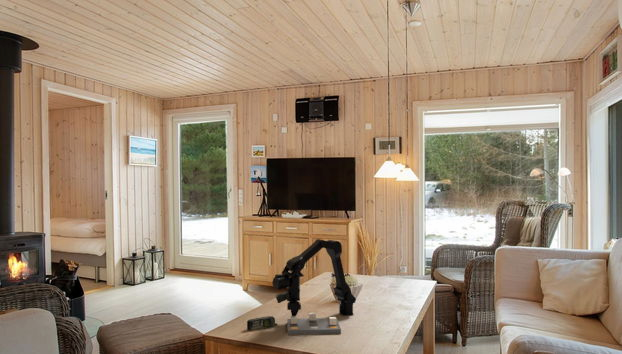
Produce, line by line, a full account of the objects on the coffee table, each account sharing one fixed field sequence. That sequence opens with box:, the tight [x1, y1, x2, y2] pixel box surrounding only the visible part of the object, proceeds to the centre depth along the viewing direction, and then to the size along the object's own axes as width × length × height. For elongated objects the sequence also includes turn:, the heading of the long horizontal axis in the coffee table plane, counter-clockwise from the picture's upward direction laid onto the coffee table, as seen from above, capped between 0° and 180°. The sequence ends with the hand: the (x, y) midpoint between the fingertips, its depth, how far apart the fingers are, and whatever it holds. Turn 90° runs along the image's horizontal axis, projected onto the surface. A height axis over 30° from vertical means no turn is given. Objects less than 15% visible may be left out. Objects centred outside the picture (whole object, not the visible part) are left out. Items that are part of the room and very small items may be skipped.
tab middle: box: [308, 312, 317, 321], centre depth 206 cm, size 3×2×3 cm
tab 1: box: [290, 315, 298, 324], centre depth 201 cm, size 3×2×3 cm
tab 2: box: [328, 316, 337, 325], centre depth 199 cm, size 3×2×3 cm
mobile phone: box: [246, 315, 278, 331], centre depth 201 cm, size 5×3×15 cm
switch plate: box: [286, 317, 342, 336], centre depth 201 cm, size 24×16×2 cm, turn 94°
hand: (293, 319), depth 203 cm, fingers closed
